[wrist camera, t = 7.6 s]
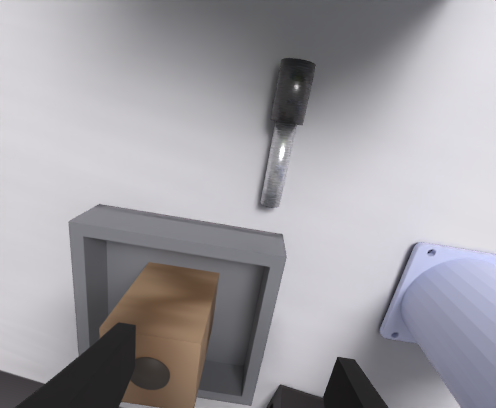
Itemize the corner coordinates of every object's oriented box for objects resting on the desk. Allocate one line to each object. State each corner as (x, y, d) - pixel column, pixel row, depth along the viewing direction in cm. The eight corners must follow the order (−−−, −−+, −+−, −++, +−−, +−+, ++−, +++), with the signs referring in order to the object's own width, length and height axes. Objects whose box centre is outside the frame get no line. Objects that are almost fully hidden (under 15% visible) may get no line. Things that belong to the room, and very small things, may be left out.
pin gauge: (280, 62, 15) (282, 56, 13) (312, 68, 15) (319, 62, 13) (255, 198, 17) (255, 208, 15) (283, 203, 17) (285, 213, 16)
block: (219, 273, 18) (200, 345, 13) (212, 328, 20) (192, 414, 14) (149, 261, 18) (98, 329, 13) (147, 318, 20) (101, 400, 14)
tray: (282, 234, 18) (286, 257, 15) (252, 368, 22) (251, 405, 19) (99, 204, 18) (68, 221, 15) (103, 344, 22) (80, 378, 19)
